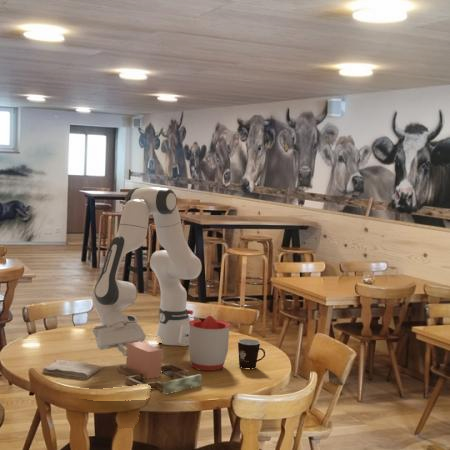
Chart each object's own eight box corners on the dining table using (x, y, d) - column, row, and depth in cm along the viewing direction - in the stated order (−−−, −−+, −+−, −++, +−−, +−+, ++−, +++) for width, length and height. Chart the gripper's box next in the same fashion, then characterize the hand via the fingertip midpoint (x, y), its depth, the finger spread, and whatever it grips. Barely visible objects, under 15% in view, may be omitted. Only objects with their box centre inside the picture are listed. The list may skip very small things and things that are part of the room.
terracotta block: (139, 367, 255) (140, 341, 255) (160, 376, 246) (162, 349, 245) (126, 370, 251) (127, 343, 250) (147, 379, 242) (148, 352, 241)
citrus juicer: (223, 359, 272) (225, 310, 270) (230, 373, 254) (234, 320, 253) (184, 359, 269) (186, 309, 267) (189, 373, 252) (192, 320, 250)
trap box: (157, 363, 261) (158, 353, 261) (208, 384, 241) (209, 373, 240) (105, 373, 245) (106, 363, 245) (155, 397, 224) (156, 385, 224)
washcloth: (56, 365, 253) (56, 357, 253) (101, 371, 249) (101, 363, 249) (40, 374, 242) (40, 366, 242) (87, 381, 238) (87, 372, 238)
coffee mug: (232, 364, 266) (234, 339, 265) (252, 363, 269) (254, 338, 268) (245, 373, 255) (246, 347, 254) (265, 372, 258) (267, 346, 258)
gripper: (94, 322, 252) (108, 354, 246) (139, 316, 266) (153, 346, 260) (87, 331, 256) (101, 363, 250) (132, 325, 270) (145, 355, 264)
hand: (128, 354), depth 255 cm, fingers closed
